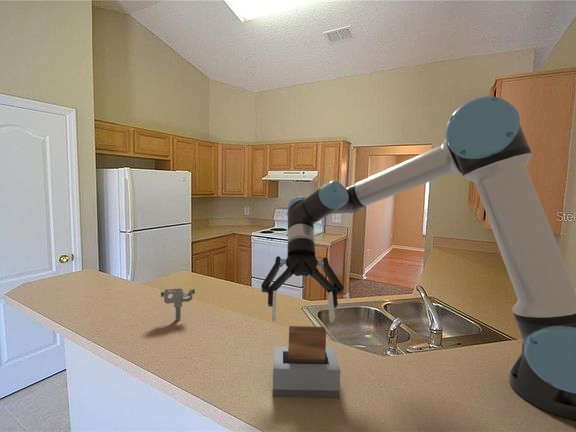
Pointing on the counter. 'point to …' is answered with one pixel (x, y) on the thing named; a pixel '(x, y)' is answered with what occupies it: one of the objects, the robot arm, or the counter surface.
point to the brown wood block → (306, 345)
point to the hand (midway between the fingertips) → (303, 320)
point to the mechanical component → (177, 299)
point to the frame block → (305, 376)
